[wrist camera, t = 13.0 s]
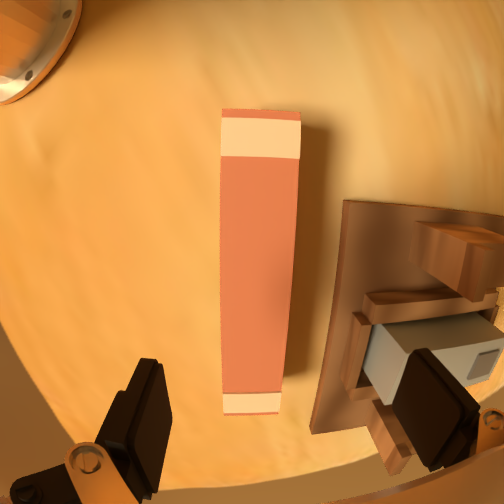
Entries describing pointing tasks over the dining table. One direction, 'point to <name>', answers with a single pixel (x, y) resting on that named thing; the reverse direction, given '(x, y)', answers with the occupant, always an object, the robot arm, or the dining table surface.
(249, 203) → the orange banded bar
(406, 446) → the jig
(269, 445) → the dining table surface
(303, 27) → the dining table surface
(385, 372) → the grey rectangular block
